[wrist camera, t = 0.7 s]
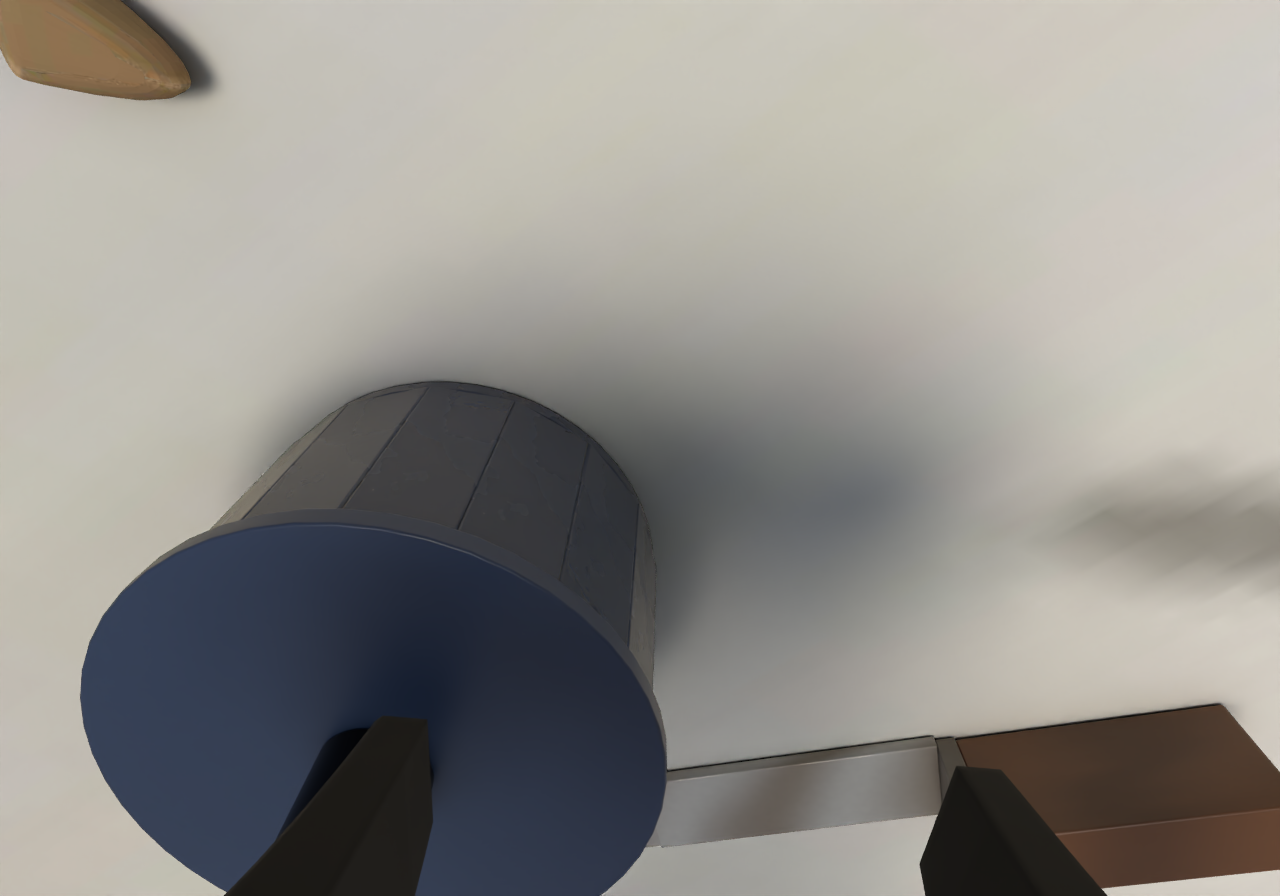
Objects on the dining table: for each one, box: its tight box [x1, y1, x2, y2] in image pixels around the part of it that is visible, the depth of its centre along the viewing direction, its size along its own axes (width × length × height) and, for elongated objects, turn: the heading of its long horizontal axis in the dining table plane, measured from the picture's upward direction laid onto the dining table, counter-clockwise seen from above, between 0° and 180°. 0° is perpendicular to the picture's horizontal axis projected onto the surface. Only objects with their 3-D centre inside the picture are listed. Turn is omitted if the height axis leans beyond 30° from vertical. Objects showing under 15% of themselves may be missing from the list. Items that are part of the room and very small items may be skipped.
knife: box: [646, 705, 1280, 888], centre depth 23 cm, size 19×3×3 cm, turn 103°
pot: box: [210, 382, 656, 690], centre depth 18 cm, size 10×10×6 cm
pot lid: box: [80, 509, 667, 896], centre depth 14 cm, size 11×11×4 cm
